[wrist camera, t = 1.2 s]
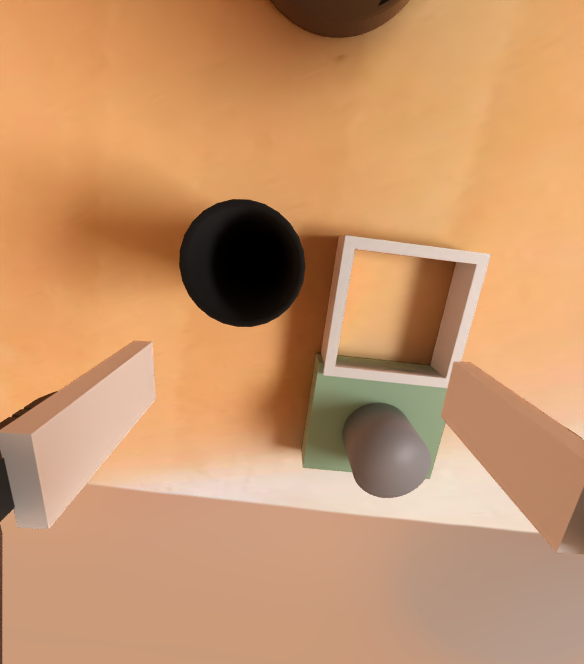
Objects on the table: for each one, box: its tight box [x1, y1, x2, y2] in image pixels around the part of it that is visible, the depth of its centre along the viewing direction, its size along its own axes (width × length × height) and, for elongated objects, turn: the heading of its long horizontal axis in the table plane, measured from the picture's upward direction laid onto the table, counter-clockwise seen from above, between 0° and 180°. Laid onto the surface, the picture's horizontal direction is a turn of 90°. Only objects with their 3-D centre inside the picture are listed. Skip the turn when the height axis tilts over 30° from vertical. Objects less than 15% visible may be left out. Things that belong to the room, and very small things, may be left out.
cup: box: [179, 199, 305, 327], centre depth 25 cm, size 8×8×12 cm
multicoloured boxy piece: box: [301, 235, 491, 498], centre depth 30 cm, size 24×14×8 cm, turn 173°
